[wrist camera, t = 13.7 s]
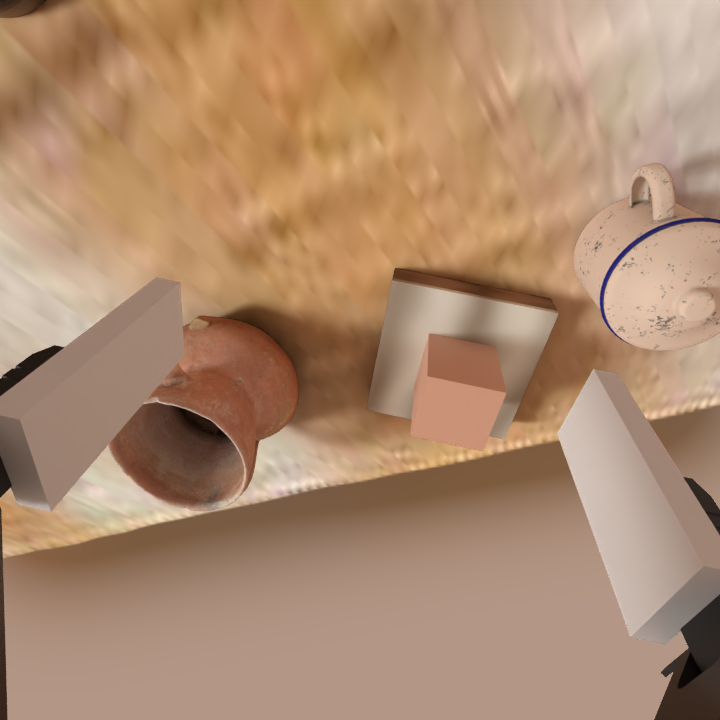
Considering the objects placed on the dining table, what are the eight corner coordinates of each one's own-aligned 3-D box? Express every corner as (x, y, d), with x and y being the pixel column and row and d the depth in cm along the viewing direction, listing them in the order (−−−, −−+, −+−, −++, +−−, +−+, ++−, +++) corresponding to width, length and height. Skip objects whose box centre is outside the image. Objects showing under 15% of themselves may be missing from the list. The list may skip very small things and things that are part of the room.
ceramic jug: (151, 299, 46) (49, 379, 34) (286, 289, 43) (226, 372, 31) (207, 434, 55) (143, 534, 43) (321, 433, 52) (286, 540, 40)
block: (414, 387, 43) (410, 435, 37) (428, 333, 40) (427, 376, 34) (476, 400, 43) (482, 451, 37) (496, 347, 39) (506, 392, 34)
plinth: (369, 392, 48) (365, 409, 45) (394, 268, 40) (392, 280, 38) (500, 420, 47) (504, 439, 44) (551, 299, 40) (558, 313, 37)
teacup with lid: (692, 285, 37) (784, 356, 27) (575, 312, 40) (620, 385, 30) (693, 132, 32) (808, 152, 22) (558, 174, 35) (606, 209, 25)
